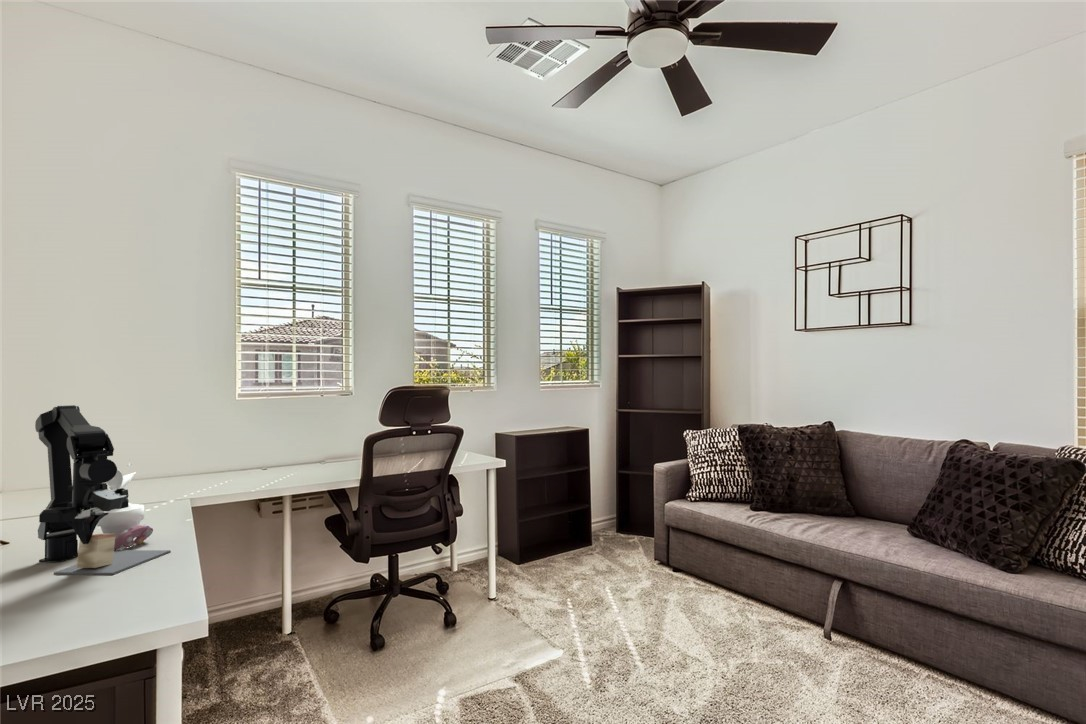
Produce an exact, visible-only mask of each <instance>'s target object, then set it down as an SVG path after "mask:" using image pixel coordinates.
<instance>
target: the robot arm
mask: <svg viewBox="0 0 1086 724" xmlns="http://www.w3.org/2000/svg"><path fill="white" fill-rule="evenodd" d="M34 426H35V431H36V432H37V434H38V439H39V441H40V442H41V443H43V445H44V446H45V447H46V449H47V458H48V459H47V460H48V461H47V462H48V475H49V476H48V477H49V487H50V489H49V491H50V492H49V493H50V501H49V502H48V504H47V506H46V507H45V509H42V511H41V512H40V513H39V520H38V522H39V526H38V528H37V539H39V540H42V541H44V558H41V559H38V562H39V563H48V562H49V563H61V562H65V561H67V560H70V559H74V558H76V557H78V551H79V543H78V541H80V540H81V542H82V543H83V544H88V543H89V541H90V539H91V537H92V534H93V533H94V532H95V530H96V527H97V524H98V522H99V520H100V519H102V518H103V517H104V516H105V515H108V513H104V511H110V510H113V509H122V508H126V507H128V503H129V489H128V488H125V487H123V488H119V489H117V490H116V491H115V490H111V489H110V490H109V488H108V483H107V482H108V481H110V480H111V479H112V478H113V477H114V476H115V475H116V473H117V469H118V467H117V465H116V463H115V462H114V461H112V460H111V459H108V457H113V456H114V451H115V448H114V446H113V443H112V442H113V441H111V437H109V435H108V433H106V431H105V430H104V429H103V428H101V427H99V426H96V425H91V424H90V423H89V421H88V420H87V419H86V418H85V417H84V415H83V414H82V413H81V410H80V407H79V405H57V406H54V407H53V408H52V409H51V410H48V411H45V412H43V413H40V414H39V415H38V417H37V419H36V420H35V425H34ZM71 459H72V460H73V463H71ZM72 464H73V465H72ZM72 466H73V467H72ZM78 539H79V540H78Z"/></svg>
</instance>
